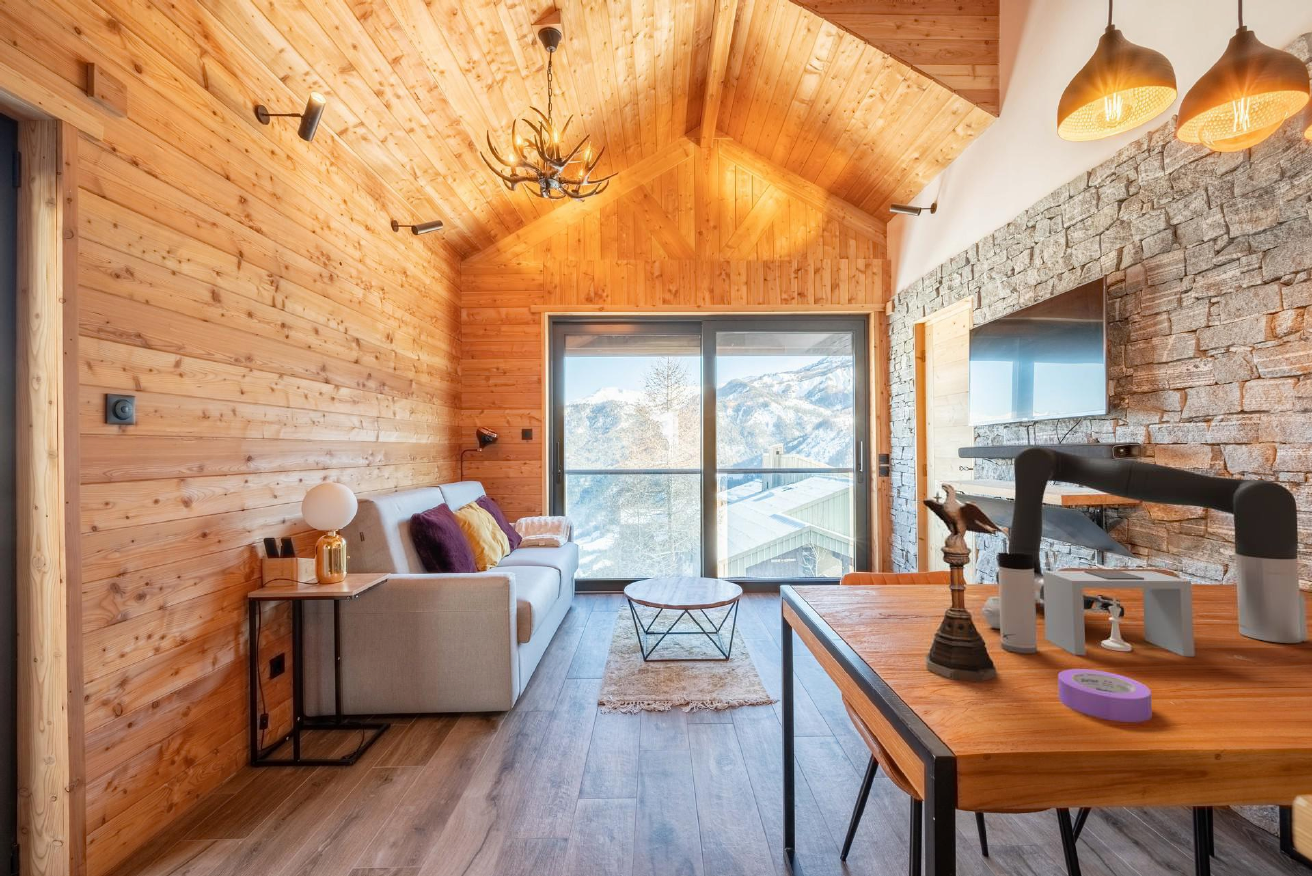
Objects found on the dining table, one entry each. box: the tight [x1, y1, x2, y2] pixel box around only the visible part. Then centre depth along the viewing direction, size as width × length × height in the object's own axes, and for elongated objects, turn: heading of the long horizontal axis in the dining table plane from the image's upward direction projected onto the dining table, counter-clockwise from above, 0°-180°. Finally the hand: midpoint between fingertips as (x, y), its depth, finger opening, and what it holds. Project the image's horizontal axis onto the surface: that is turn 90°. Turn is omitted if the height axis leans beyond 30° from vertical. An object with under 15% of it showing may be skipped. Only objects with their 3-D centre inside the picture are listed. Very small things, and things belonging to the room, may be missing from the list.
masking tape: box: [1057, 668, 1153, 723], centre depth 92 cm, size 12×12×4 cm
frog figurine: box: [981, 596, 1000, 630], centre depth 134 cm, size 6×7×7 cm
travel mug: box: [997, 552, 1038, 655], centre depth 119 cm, size 6×7×20 cm
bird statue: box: [922, 483, 1012, 682], centre depth 111 cm, size 17×13×35 cm
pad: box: [1083, 570, 1144, 580], centre depth 120 cm, size 7×7×1 cm
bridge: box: [1042, 570, 1195, 657], centre depth 120 cm, size 22×10×14 cm, turn 85°
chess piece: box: [1101, 597, 1133, 652], centre depth 120 cm, size 5×5×10 cm
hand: (1100, 611), depth 124 cm, fingers open, 8 cm apart
